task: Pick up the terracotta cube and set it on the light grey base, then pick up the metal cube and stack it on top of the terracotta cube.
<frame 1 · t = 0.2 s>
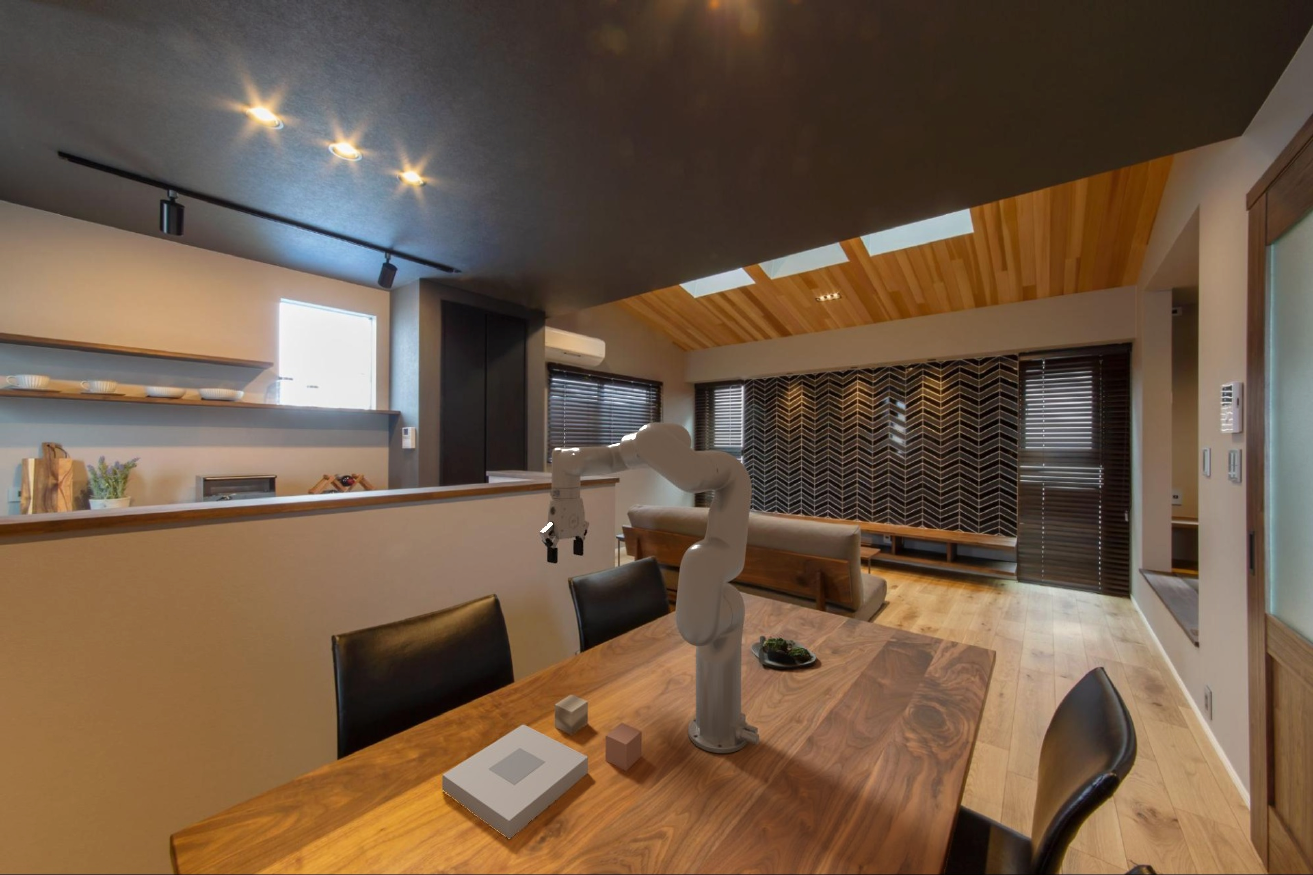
hand: (565, 558, 125), 31 cm above the table, tool pointing down, fingers open, 9 cm apart
salad plate: (782, 658, 136), on the table
terracotta cube: (623, 758, 92), on the table
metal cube: (571, 725, 103), on the table
grey base: (517, 781, 86), on the table
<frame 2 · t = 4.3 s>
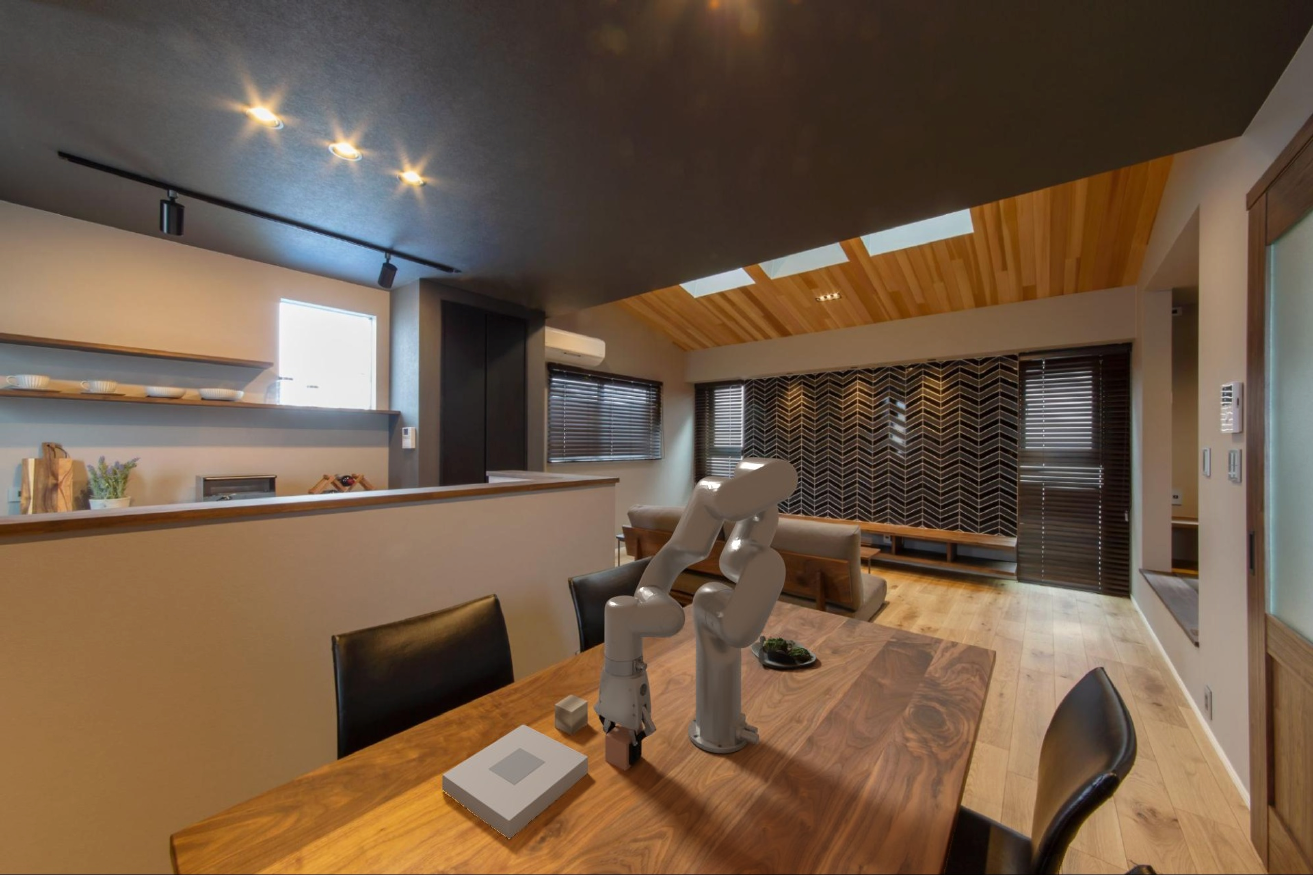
hand: (623, 754, 92), 1 cm above the table, tool pointing down, fingers closed on terracotta cube, 5 cm apart
terracotta cube: (623, 758, 92), on the table, touching gripper
everything else where it was.
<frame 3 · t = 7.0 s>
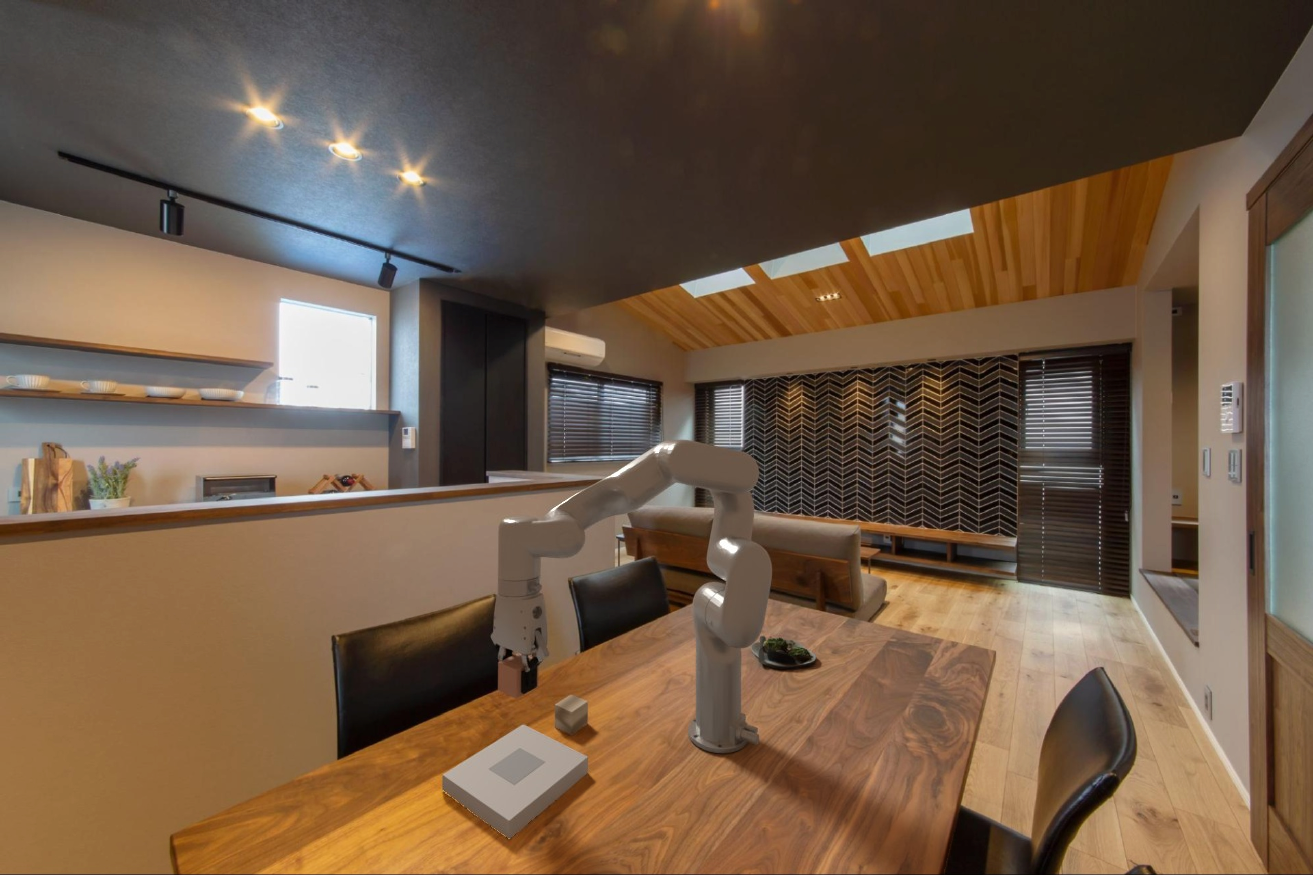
hand: (518, 684, 86), 18 cm above the table, tool pointing down, fingers closed on terracotta cube, 5 cm apart
terracotta cube: (518, 688, 86), point 17 cm above the table, touching gripper
everything else where it was.
when the fingers open (5 cm above the table, at t = 9.7 s): terracotta cube drops 1 cm, resting on grey base.
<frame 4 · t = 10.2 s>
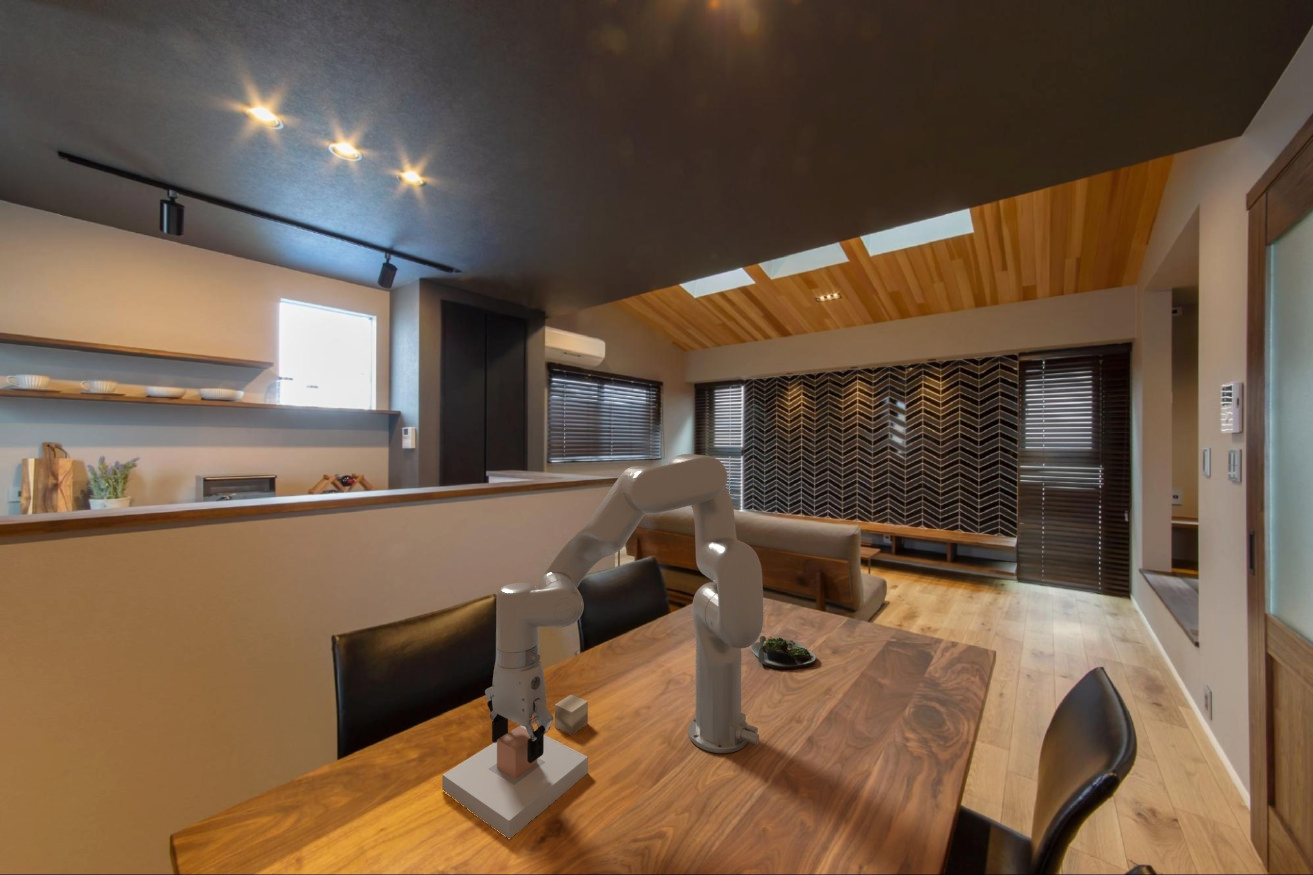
hand: (517, 748, 86), 6 cm above the table, tool pointing down, fingers open, 9 cm apart
terracotta cube: (517, 764, 86), point 3 cm above the table, touching grey base
everything else where it was.
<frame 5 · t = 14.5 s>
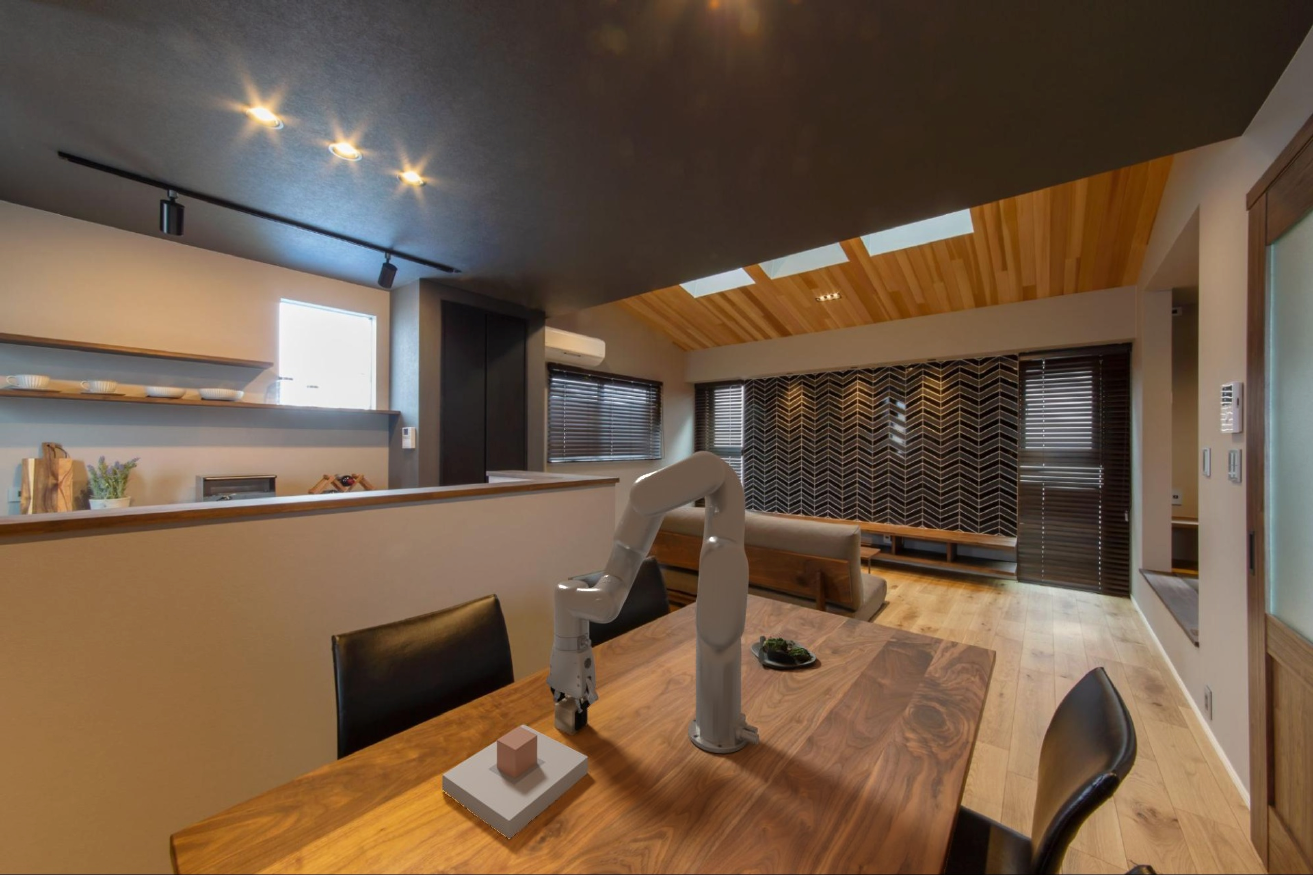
hand: (571, 722, 103), 1 cm above the table, tool pointing down, fingers closed on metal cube, 5 cm apart
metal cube: (571, 725, 103), on the table, touching gripper
everything else where it was.
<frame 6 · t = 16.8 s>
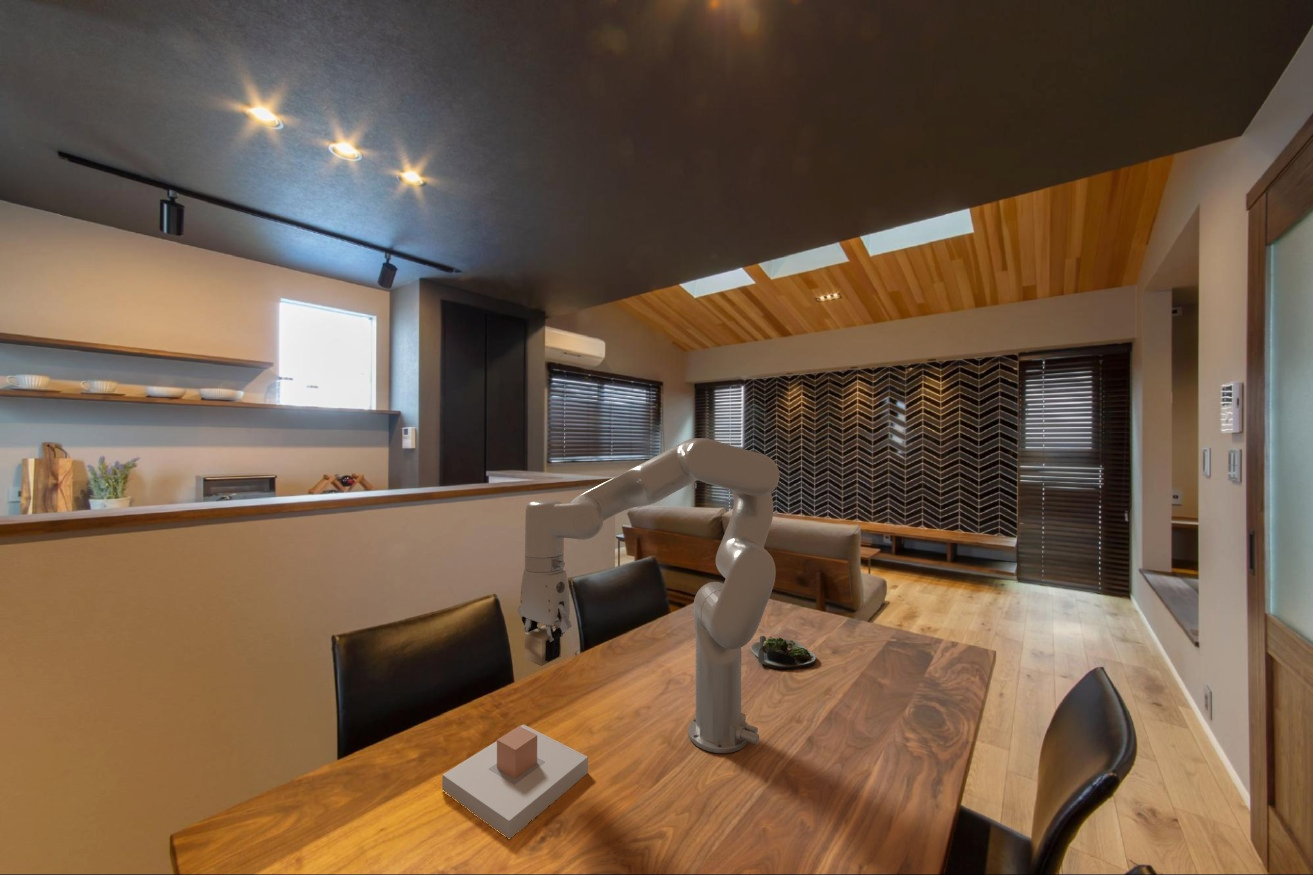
hand: (542, 653, 94), 20 cm above the table, tool pointing down, fingers closed on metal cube, 5 cm apart
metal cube: (542, 657, 94), point 19 cm above the table, touching gripper
everything else where it was.
when the fingers open (10 cm above the table, at t = 19.5 s): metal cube drops 1 cm, resting on terracotta cube.
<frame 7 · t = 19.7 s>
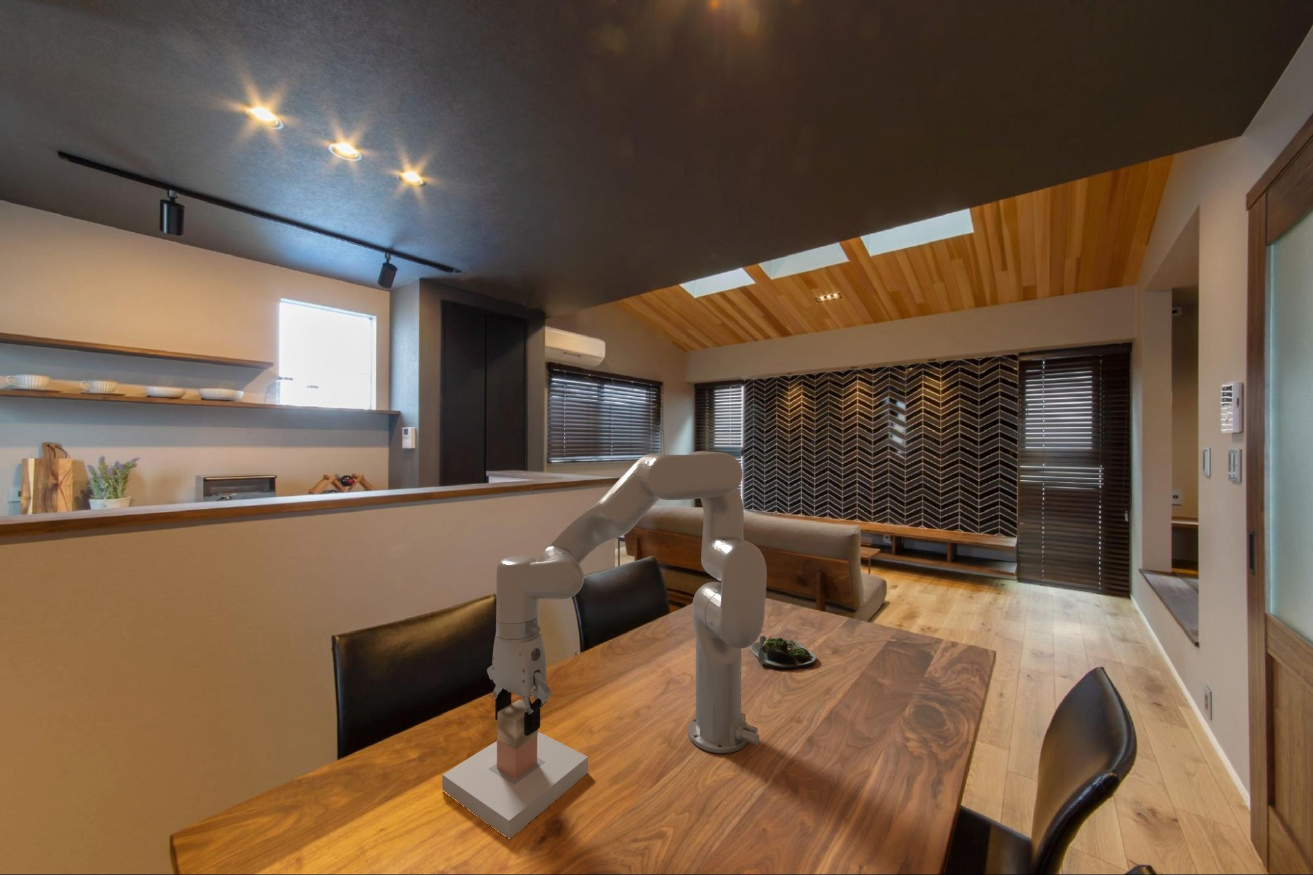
hand: (517, 723, 86), 11 cm above the table, tool pointing down, fingers open, 7 cm apart
terracotta cube: (517, 764, 86), point 3 cm above the table, touching grey base, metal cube
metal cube: (517, 737, 86), point 8 cm above the table, touching terracotta cube
everything else where it was.
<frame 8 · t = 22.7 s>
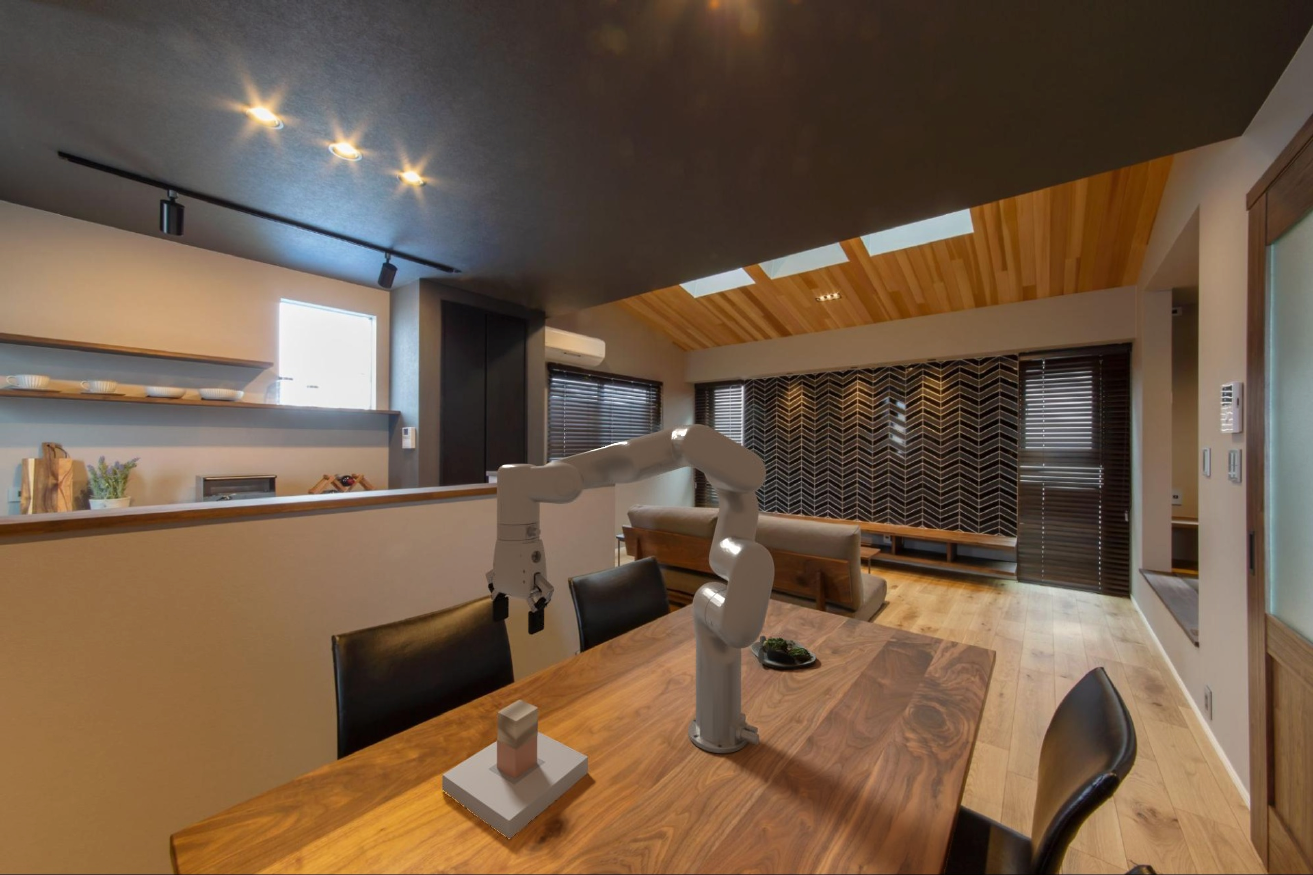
hand: (517, 625, 86), 28 cm above the table, tool pointing down, fingers open, 9 cm apart
nothing on the table moved.
at the end: terracotta cube 0.0 cm off-centre on the grey base, point 3.0 cm above the grey base's base; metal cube 0.1 cm off-centre on the terracotta cube, point 5.0 cm above the terracotta cube's base; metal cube tilted 0° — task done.
